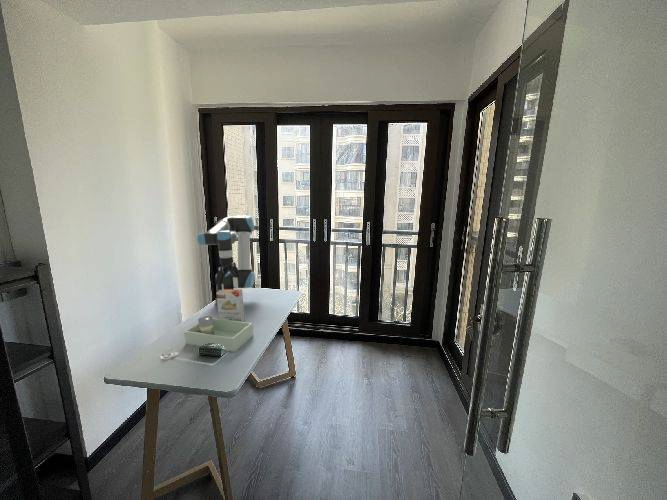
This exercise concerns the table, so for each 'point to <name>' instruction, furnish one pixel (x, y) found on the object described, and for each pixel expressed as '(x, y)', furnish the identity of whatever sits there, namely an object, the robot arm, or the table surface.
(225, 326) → the tote
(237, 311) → the cracker box
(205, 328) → the can
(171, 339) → the table surface
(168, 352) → the white curved piece
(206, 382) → the table surface
